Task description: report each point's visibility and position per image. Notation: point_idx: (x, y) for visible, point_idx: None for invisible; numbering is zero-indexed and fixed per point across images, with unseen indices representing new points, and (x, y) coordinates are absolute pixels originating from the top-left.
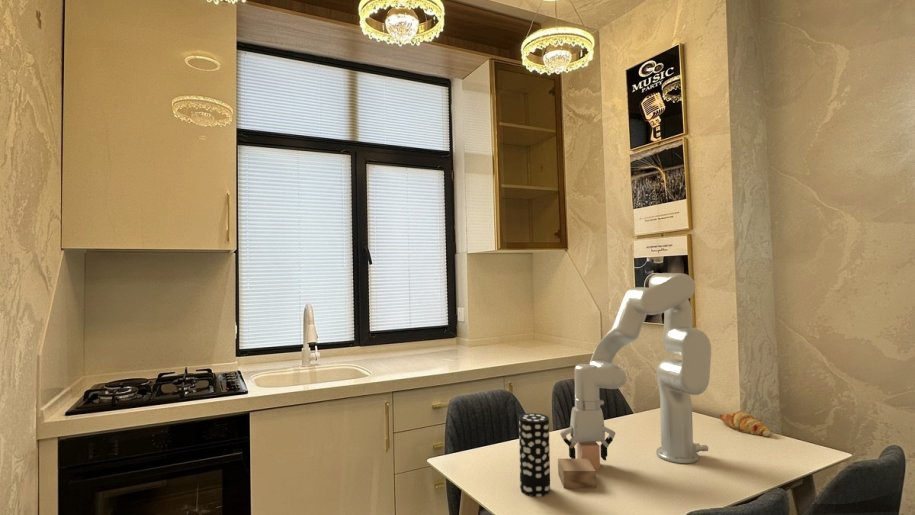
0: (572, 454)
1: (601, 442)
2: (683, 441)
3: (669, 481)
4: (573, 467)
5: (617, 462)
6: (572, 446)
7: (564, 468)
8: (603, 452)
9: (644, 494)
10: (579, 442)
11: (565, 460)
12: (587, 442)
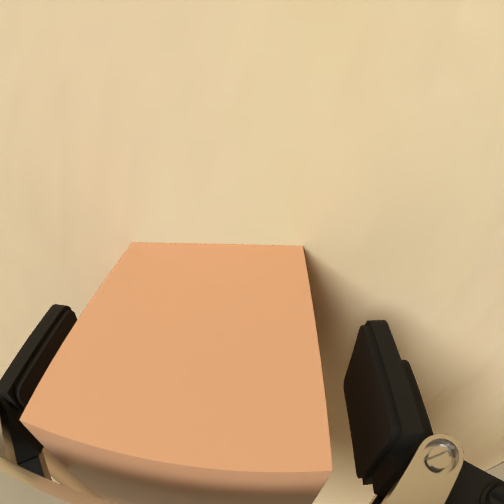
0: None
1: (395, 481)
2: None
3: (485, 430)
4: (98, 496)
5: (476, 277)
6: (32, 452)
7: (68, 487)
8: (353, 438)
9: (342, 488)
10: (73, 470)
11: (49, 462)
12: (176, 499)
